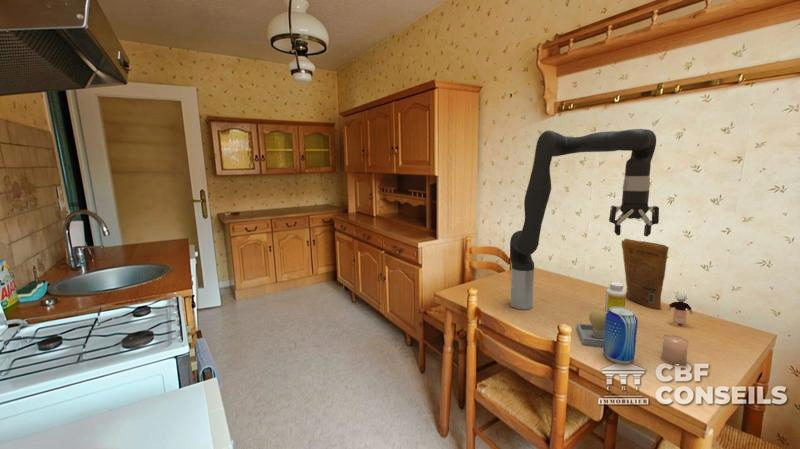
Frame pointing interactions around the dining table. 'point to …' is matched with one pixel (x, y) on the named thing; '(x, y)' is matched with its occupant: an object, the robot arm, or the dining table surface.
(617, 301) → the supplement bottle
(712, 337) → the dining table surface
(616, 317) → the beer can
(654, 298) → the pancake mix bag
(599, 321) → the light bulb
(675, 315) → the grandmother figurine
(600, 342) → the tray
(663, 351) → the beige rounded block
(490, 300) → the dining table surface
